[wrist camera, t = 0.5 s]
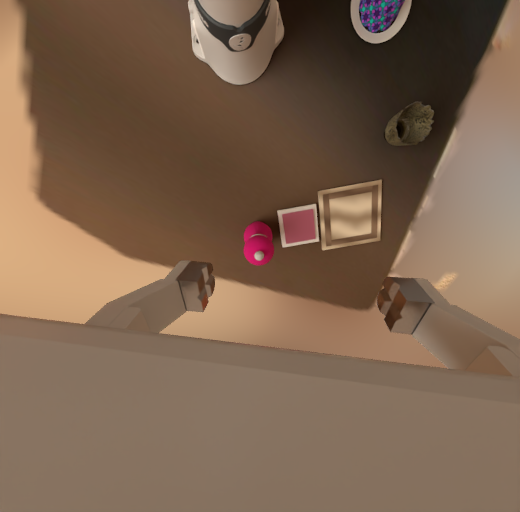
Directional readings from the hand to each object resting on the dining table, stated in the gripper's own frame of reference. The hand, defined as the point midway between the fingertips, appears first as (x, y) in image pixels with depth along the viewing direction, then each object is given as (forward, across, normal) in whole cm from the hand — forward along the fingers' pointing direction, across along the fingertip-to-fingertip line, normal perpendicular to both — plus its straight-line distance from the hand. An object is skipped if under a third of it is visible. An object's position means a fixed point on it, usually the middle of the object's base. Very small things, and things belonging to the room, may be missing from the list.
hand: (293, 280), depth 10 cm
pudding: (+55, -15, -28) cm, 64 cm away
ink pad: (+43, -3, +15) cm, 46 cm away
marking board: (+46, -16, +13) cm, 50 cm away
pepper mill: (+41, +8, +17) cm, 45 cm away
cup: (+51, -23, -6) cm, 56 cm away
